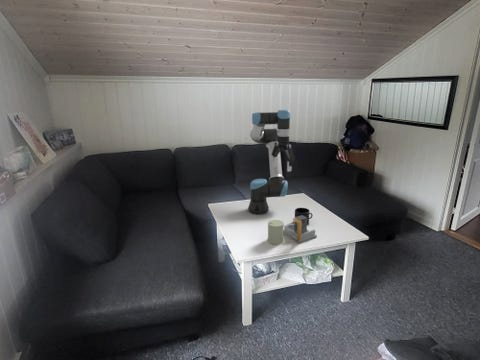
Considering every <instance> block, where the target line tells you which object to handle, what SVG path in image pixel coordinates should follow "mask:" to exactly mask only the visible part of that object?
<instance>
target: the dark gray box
mask: <svg viewBox="0 0 480 360" xmlns="http://www.w3.org/2000/svg"><path fill="white" fill-rule="evenodd" d="M294 218H296V219H298V220H300V221H302V229H301V234H302V233H305V232H307V230H308V225H307V217H305V216H303V215H301V216H298V217H295V216H294ZM293 222H294V231H295V232H296V233H297V229H298V223H297V222H295V221H293Z"/></svg>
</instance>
